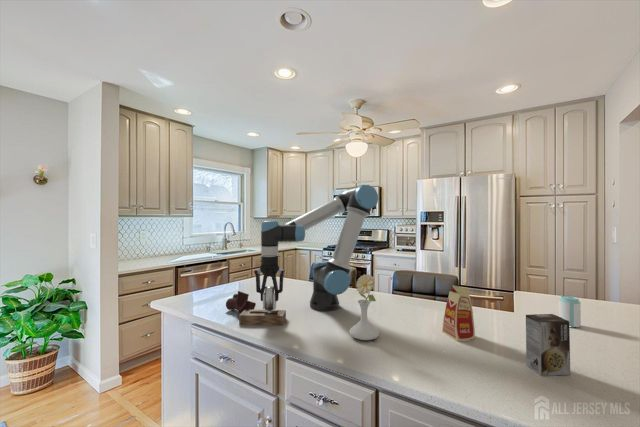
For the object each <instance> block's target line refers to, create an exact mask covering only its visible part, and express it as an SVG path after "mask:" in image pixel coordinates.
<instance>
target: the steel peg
mask: <svg viewBox="0 0 640 427" xmlns="http://www.w3.org/2000/svg"><path fill="white" fill-rule="evenodd" d="M264 293H265V309H264V310H268V314H267V315H272V310H275V309H273V294H274V293H275V290H274V285H267V286H265V292H264Z"/></svg>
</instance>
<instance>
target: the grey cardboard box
mask: <svg viewBox="0 0 640 427" xmlns="http://www.w3.org/2000/svg"><path fill="white" fill-rule="evenodd" d="M570 339H571V338H570V327H569V321H568V320H565V319H563V318H561V317H559V315H556V314H554V313H543V314H541V313H540V314H534V313H533V314H525V346H526V347H525V355H526V356H525V361H526V362H525V363H526V364H525V365H526V367H527V368H529V367H530V368H529V369H531V370H532V371H533V372H535V373H536V374H538V375H539V376H541V377H545V376H546V377H547V376H569V375H571V343H570V342H571V341H570Z"/></svg>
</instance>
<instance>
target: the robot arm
mask: <svg viewBox="0 0 640 427" xmlns="http://www.w3.org/2000/svg"><path fill="white" fill-rule="evenodd" d="M378 202H379V195H378V192H377V190H376V189H375V187H373V186H371V185H370V184H360V185H357V186H353V187H350V188H348V189H346V190H345V191H343V192H341V193H339V194H338V195H336V196H335V197H334V199H332V200H330V201H327V203H324V204H322V205H320V206H319V207H317V208H315V209H313V210H311V211H308V212H306V213H304V214H303V215H301V216H299V217H297V218H294V219H292V220H291V221H288V222H286V223H283V224H281V225H280V224H279V221H278V220H264V221H262V222H261V231H260V234H261V236H260V240H261V241H260V242H261V243H260V244H261V245H260V247H261V248H260V255H261V257H260V264H261V265H260V267H259V268H257V269H254V274H255V290H256V293H259V294H260V301H261V302H262V310H265V287H266V285H267V280H268V278H269V277H270V278H271V280H272V284H273V285H272V286H274V294H273V309H274V310H277V309H276V308H277V302H278V301H279V296H280V295H279V294H281V293H282V292H283V290H284V289H283V288H284V274H285V271H286V270H285V269H282V268H280V266H279V256H278V255H279V243H283V242H284V243H285V242H290V243H293V242H296V243H298V242H304V241H305V237H306V231H307V230H309V229H311V228H313V227H315V226H317V225H319V224H321V223H322V222H324V221H327V220H328V219H331V218H332V217H334V216H336V215H338V214H340V213H342V214H344V213H347V214H346V216H345V219H344V223H343V226H342V229H341V232H340V234H339V237H338V240H337V243H336V245H335V249H334V251H333V254H332V257H331V258H330V259H328V260H327V261H317V262H314V263H313V266H312V267H313V268H312V272H313V273H312V278H313V279H312V280H313V283H312V285H313V287H312V294H311V298H310V301H309V307H310V308H311V309H312V310H315V311H323V312H324V311H325V312H326V311H327V312H328V311H334V310H336V309H339V308H340V301H339V297H338V295H339V296H340V295H341V294H344V293H345V292H346V291H347V290H348V289H349V286H350V284H351V279H350V276H349V275H350V272H351V267H350V262H351V260H352V256H353V254H354V250H355V247H356V244H357V242H358V239H359V236H360V233H361V230H362V227H363V224H364V221H365V219H366V218H367V217H369V216H370V214H371V210H372V209H373V208H375V207H376V206H377V204H378ZM261 273H262V275H263V277H262V284H261V275H260V274H261ZM277 273H278V274H279V281H278V280H277ZM278 282H279V283H278ZM278 284H279V285H278ZM278 286H279V287H278Z"/></svg>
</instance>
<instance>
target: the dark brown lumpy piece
mask: <svg viewBox="0 0 640 427" xmlns="http://www.w3.org/2000/svg"><path fill="white" fill-rule="evenodd" d="M249 296H250V294H248V293H246V292H243V291H239V290H238V291H237V293H234V294H233V295H232V297H231V298H228V299H227V300H226V302H225V307H226V309H227V310H228V311H234V310H236V311H238V313H239V314H241V313H242V312H243V311H244V310H245V309H255V308H256V305H257V303H256V302H253V301H250V300H249Z"/></svg>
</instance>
